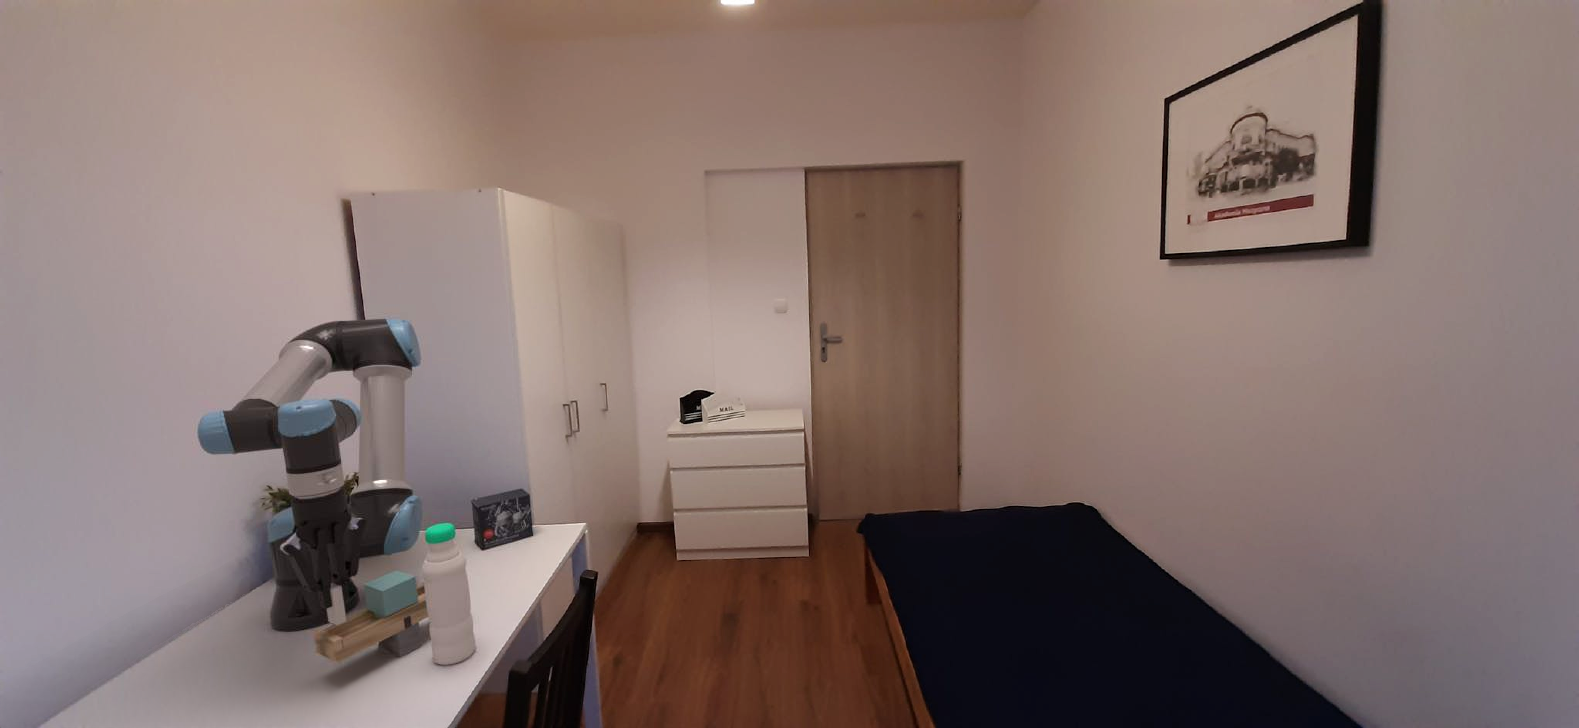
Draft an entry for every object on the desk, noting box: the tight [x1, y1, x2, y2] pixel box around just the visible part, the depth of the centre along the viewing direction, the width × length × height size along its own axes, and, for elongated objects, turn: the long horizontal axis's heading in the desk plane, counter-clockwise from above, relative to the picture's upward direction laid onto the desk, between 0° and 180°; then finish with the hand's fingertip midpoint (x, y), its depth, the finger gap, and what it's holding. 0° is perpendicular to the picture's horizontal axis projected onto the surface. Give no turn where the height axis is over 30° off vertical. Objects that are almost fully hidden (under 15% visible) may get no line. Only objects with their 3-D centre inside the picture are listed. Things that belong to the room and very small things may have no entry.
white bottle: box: [421, 522, 476, 666], centre depth 115 cm, size 7×7×25 cm
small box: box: [471, 488, 534, 551], centre depth 167 cm, size 13×7×12 cm, turn 130°
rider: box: [363, 569, 418, 619], centre depth 118 cm, size 6×6×6 cm
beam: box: [312, 582, 429, 664], centre depth 119 cm, size 7×24×12 cm, turn 152°
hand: (337, 621), depth 110 cm, fingers closed
